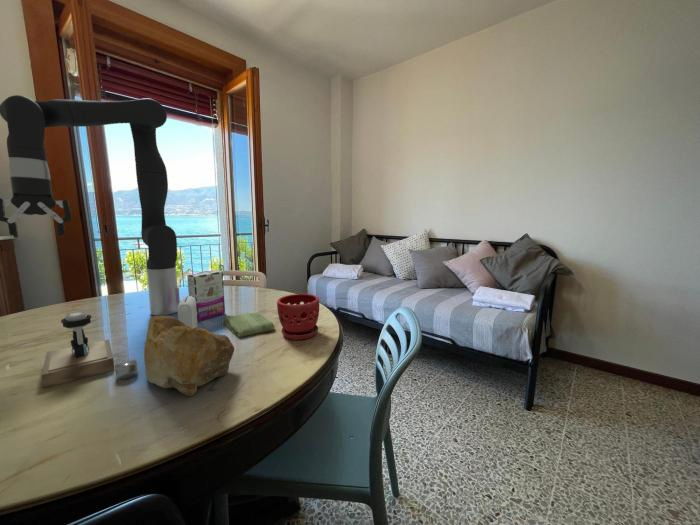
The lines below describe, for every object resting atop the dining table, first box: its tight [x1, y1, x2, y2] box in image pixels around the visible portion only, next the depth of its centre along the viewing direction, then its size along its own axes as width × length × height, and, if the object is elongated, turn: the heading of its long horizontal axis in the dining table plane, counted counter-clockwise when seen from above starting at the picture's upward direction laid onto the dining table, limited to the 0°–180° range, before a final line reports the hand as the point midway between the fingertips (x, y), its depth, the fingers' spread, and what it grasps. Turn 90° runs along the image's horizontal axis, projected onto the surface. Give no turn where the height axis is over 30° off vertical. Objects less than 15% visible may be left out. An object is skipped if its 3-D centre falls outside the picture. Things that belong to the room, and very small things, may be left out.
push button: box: [60, 311, 92, 358], centre depth 72 cm, size 7×5×10 cm
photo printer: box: [177, 295, 199, 328], centre depth 91 cm, size 10×4×12 cm, turn 20°
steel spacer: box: [114, 359, 139, 381], centre depth 69 cm, size 4×4×3 cm
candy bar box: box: [186, 270, 226, 323], centre depth 109 cm, size 11×5×16 cm, turn 148°
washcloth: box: [224, 312, 275, 338], centre depth 101 cm, size 13×18×3 cm
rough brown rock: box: [143, 315, 235, 397], centre depth 68 cm, size 23×17×15 cm
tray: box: [41, 339, 115, 389], centre depth 73 cm, size 12×14×3 cm
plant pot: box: [276, 293, 320, 341], centre depth 94 cm, size 13×13×12 cm
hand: (39, 236), depth 83 cm, fingers open, 8 cm apart
